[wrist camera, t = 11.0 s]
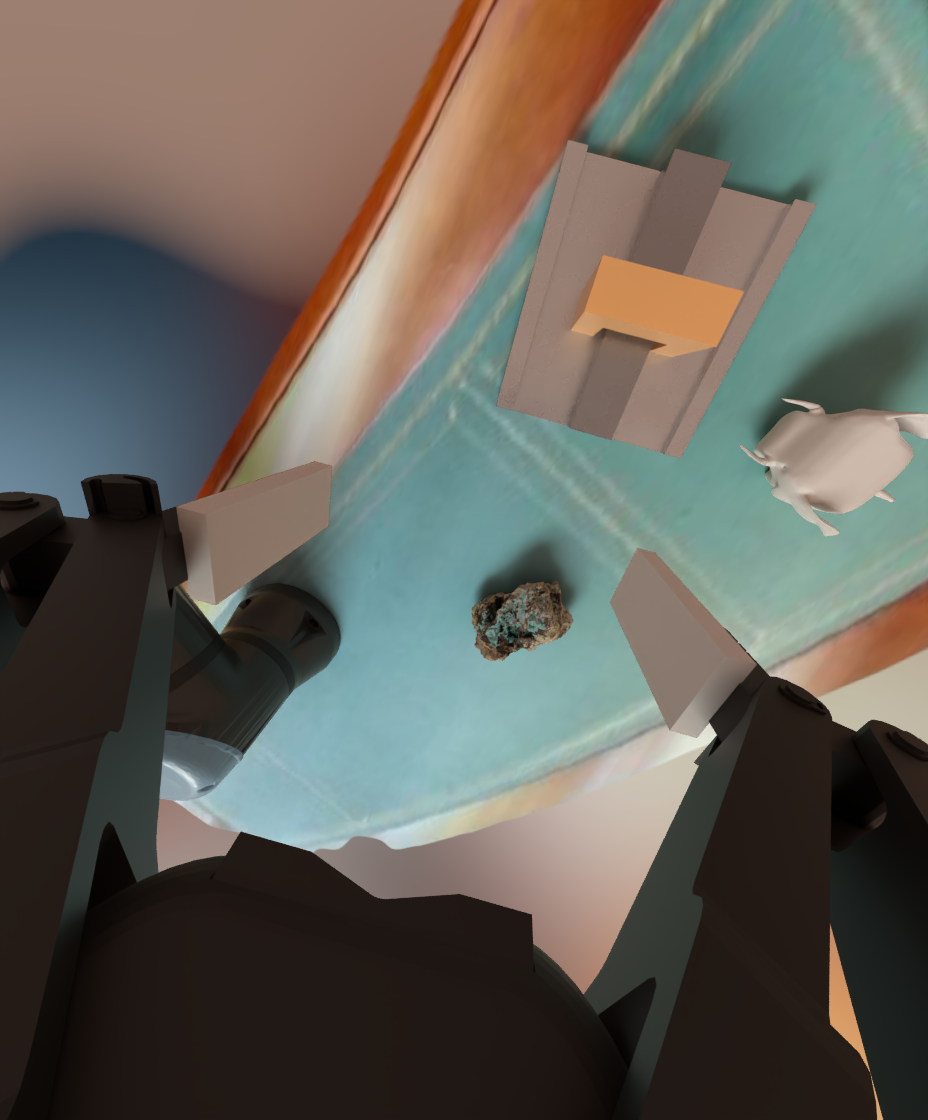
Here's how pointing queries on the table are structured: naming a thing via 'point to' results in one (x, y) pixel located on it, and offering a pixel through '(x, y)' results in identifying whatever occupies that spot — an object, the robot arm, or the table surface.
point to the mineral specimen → (520, 619)
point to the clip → (655, 307)
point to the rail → (655, 241)
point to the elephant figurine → (836, 457)
